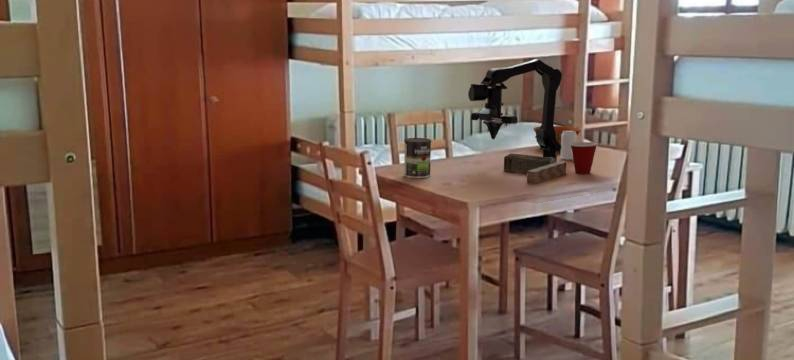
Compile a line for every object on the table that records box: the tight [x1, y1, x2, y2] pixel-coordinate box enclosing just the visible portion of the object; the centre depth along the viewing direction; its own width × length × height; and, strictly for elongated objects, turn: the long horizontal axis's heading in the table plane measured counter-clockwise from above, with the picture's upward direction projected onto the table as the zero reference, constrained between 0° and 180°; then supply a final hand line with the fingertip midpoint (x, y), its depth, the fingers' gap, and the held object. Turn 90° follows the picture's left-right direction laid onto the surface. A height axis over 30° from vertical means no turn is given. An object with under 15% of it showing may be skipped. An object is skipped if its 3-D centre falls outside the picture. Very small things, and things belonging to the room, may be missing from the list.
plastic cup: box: [570, 141, 599, 175], centre depth 321 cm, size 11×11×12 cm
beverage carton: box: [503, 152, 555, 174], centre depth 323 cm, size 8×19×7 cm, turn 64°
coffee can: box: [403, 137, 432, 179], centre depth 313 cm, size 10×10×14 cm
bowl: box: [533, 125, 581, 146], centre depth 373 cm, size 21×21×10 cm
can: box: [560, 130, 578, 161], centre depth 350 cm, size 6×6×12 cm
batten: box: [526, 160, 567, 185], centre depth 311 cm, size 26×3×4 cm, turn 142°
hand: (493, 139), depth 328 cm, fingers closed
